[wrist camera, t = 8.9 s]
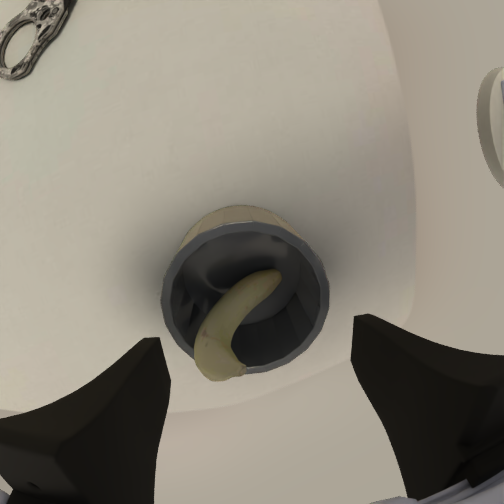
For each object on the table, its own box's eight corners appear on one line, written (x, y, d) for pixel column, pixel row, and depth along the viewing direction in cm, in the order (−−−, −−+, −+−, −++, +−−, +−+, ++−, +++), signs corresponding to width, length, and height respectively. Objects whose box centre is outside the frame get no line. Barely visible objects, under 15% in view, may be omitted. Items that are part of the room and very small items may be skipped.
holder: (302, 199, 20) (328, 214, 15) (306, 319, 22) (327, 363, 17) (168, 212, 19) (147, 231, 14) (188, 331, 22) (178, 379, 17)
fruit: (221, 270, 20) (232, 292, 21) (167, 370, 14) (186, 392, 15) (277, 259, 19) (287, 283, 20) (239, 370, 12) (255, 394, 13)
